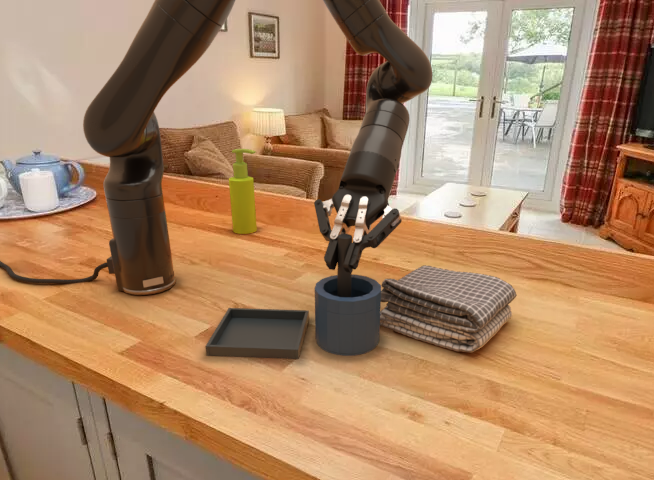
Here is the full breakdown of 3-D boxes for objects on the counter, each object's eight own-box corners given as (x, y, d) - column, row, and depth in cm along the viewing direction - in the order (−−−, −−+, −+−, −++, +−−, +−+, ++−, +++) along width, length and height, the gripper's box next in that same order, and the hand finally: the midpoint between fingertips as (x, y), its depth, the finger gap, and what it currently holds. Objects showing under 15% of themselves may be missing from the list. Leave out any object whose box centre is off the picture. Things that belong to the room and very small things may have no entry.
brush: (327, 337, 72) (327, 240, 66) (330, 323, 76) (330, 230, 70) (357, 339, 72) (360, 241, 66) (358, 324, 76) (361, 231, 70)
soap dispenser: (255, 235, 120) (250, 151, 112) (229, 233, 121) (221, 150, 113) (264, 228, 125) (259, 148, 118) (238, 226, 127) (232, 147, 119)
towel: (479, 361, 69) (486, 311, 66) (369, 324, 78) (370, 279, 75) (513, 320, 80) (521, 276, 77) (414, 292, 90) (416, 252, 87)
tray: (206, 358, 69) (205, 346, 68) (229, 318, 80) (228, 307, 79) (298, 361, 68) (298, 349, 67) (309, 321, 79) (308, 310, 78)
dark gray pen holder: (312, 357, 69) (311, 299, 66) (319, 325, 78) (318, 273, 74) (379, 359, 69) (381, 302, 65) (378, 327, 78) (380, 275, 74)
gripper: (322, 145, 72) (284, 249, 67) (413, 152, 67) (380, 265, 62) (337, 175, 79) (303, 272, 73) (420, 183, 74) (391, 287, 68)
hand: (338, 268), depth 68 cm, fingers closed on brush, 2 cm apart
